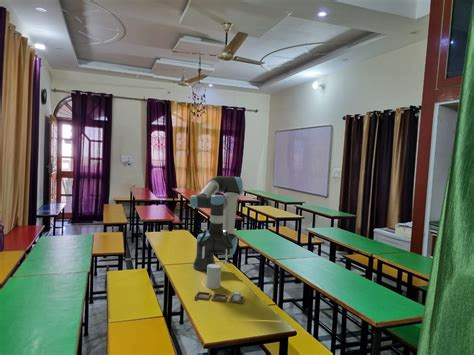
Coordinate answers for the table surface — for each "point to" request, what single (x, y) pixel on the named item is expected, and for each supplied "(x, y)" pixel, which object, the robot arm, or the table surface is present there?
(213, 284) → the cup
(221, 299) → the tray
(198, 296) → the tray
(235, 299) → the letter cube
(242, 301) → the tray
